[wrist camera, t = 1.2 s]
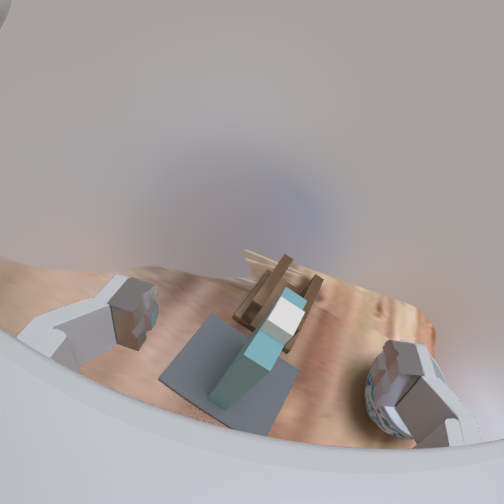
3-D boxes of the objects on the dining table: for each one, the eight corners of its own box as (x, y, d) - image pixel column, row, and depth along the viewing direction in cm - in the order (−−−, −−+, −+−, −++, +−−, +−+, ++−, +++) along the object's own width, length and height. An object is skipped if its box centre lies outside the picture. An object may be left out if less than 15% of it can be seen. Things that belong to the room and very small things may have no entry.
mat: (158, 379, 31) (158, 378, 31) (211, 314, 40) (212, 313, 40) (260, 445, 29) (261, 444, 29) (298, 371, 38) (299, 369, 38)
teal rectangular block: (207, 398, 31) (250, 345, 22) (243, 345, 38) (293, 276, 28) (225, 410, 31) (278, 363, 21) (259, 355, 38) (315, 291, 28)
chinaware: (348, 457, 31) (388, 445, 26) (336, 361, 42) (367, 336, 36) (420, 443, 35) (456, 428, 29) (403, 364, 45) (434, 343, 40)
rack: (232, 318, 41) (245, 295, 37) (265, 273, 49) (279, 250, 45) (287, 353, 40) (306, 335, 36) (311, 303, 48) (329, 283, 44)
